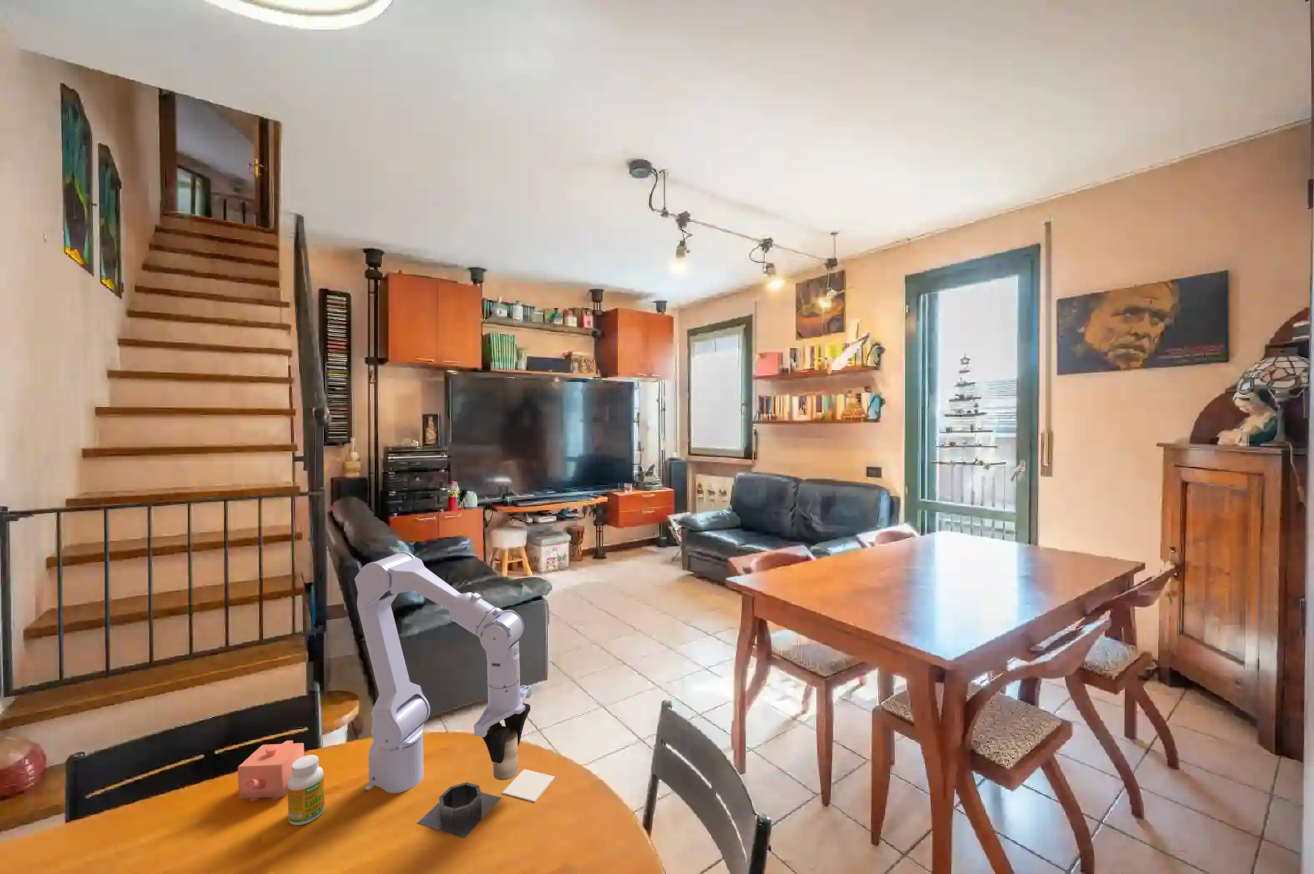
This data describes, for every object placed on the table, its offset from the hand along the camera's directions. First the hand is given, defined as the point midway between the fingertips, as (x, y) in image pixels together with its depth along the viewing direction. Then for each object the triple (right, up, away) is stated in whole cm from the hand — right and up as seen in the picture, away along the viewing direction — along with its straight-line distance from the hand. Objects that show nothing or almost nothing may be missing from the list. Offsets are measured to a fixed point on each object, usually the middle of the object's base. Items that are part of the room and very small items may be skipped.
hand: (505, 753), depth 99 cm
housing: (-7, -9, -4) cm, 12 cm away
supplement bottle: (-34, -9, -3) cm, 36 cm away
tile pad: (+4, -8, +3) cm, 10 cm away
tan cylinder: (0, -4, 0) cm, 4 cm away
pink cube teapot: (-45, -9, +2) cm, 46 cm away
